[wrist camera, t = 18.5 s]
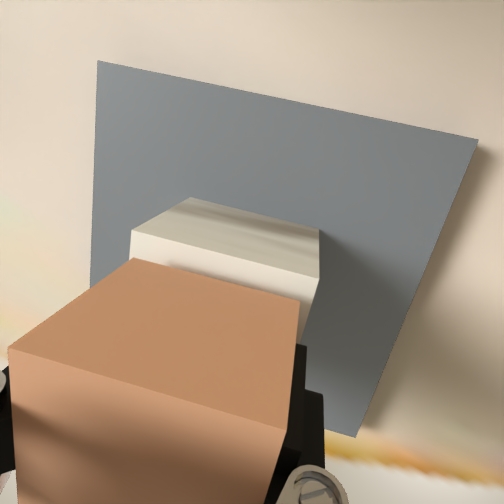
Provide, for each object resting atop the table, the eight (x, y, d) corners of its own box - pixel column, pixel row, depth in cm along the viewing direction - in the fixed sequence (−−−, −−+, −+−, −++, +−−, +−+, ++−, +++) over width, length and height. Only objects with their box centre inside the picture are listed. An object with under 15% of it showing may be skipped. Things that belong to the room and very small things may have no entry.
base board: (114, 65, 18) (97, 60, 16) (464, 138, 16) (478, 139, 15) (100, 345, 24) (87, 359, 22) (353, 418, 22) (355, 437, 21)
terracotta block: (133, 257, 11) (7, 347, 7) (300, 300, 11) (286, 430, 6) (122, 388, 13) (19, 527, 9) (262, 430, 13) (232, 601, 8)
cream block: (190, 197, 18) (131, 230, 12) (318, 229, 17) (319, 278, 11) (174, 308, 20) (118, 379, 14) (286, 340, 19) (274, 426, 14)
